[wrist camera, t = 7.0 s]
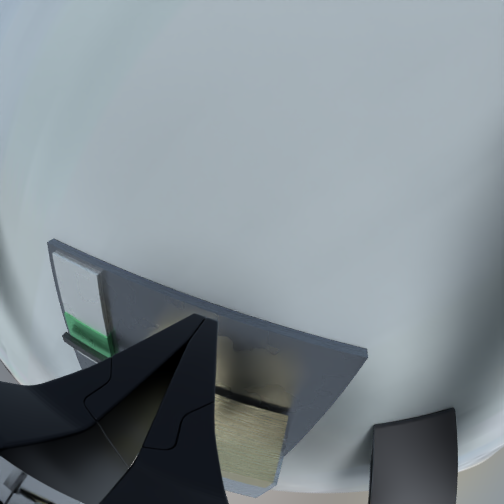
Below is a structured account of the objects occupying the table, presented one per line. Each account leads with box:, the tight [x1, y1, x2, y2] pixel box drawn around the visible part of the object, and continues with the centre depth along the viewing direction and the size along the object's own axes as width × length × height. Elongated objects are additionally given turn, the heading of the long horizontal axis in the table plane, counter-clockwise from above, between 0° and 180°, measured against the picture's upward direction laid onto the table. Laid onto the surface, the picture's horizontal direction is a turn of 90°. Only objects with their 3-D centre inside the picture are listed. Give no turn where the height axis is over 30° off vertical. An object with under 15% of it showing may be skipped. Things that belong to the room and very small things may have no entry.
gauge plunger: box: [62, 332, 288, 488], centre depth 15 cm, size 16×8×5 cm, turn 77°
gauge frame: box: [47, 239, 368, 498], centre depth 15 cm, size 19×16×5 cm
